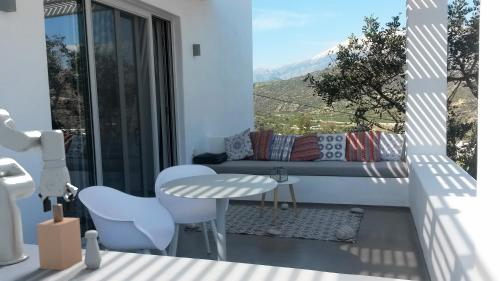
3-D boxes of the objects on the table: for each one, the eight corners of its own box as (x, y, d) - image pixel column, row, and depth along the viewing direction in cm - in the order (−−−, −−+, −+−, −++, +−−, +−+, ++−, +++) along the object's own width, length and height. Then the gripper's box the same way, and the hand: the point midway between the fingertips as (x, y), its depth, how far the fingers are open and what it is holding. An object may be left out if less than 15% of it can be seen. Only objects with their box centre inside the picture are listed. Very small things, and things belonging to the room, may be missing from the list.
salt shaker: (96, 270, 152) (93, 233, 151) (81, 269, 153) (78, 233, 152) (105, 264, 157) (102, 228, 157) (90, 264, 159) (88, 228, 158)
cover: (40, 268, 156) (35, 207, 155) (60, 258, 166) (56, 201, 164) (62, 270, 153) (58, 208, 152) (82, 260, 163) (78, 202, 161)
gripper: (27, 166, 156) (31, 213, 157) (66, 165, 151) (70, 214, 152) (43, 163, 163) (47, 208, 164) (81, 162, 158) (85, 209, 159)
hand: (58, 211), depth 158 cm, fingers open, 9 cm apart
